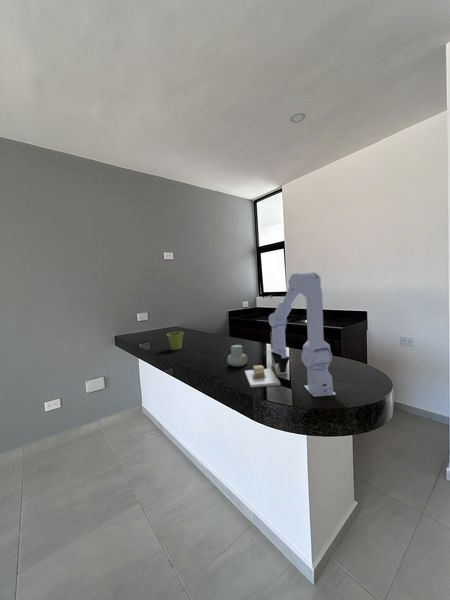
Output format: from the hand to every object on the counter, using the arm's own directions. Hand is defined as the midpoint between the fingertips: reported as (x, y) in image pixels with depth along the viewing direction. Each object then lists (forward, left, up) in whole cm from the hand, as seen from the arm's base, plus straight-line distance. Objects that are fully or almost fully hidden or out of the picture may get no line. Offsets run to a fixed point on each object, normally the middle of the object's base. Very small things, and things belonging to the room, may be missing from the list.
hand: (280, 369), depth 114 cm
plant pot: (+66, +57, -2) cm, 87 cm away
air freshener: (+17, +18, -2) cm, 25 cm away
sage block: (0, 0, -2) cm, 2 cm away
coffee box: (+12, -2, -2) cm, 12 cm away
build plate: (-5, +10, -1) cm, 11 cm away
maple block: (-5, +11, 0) cm, 12 cm away
